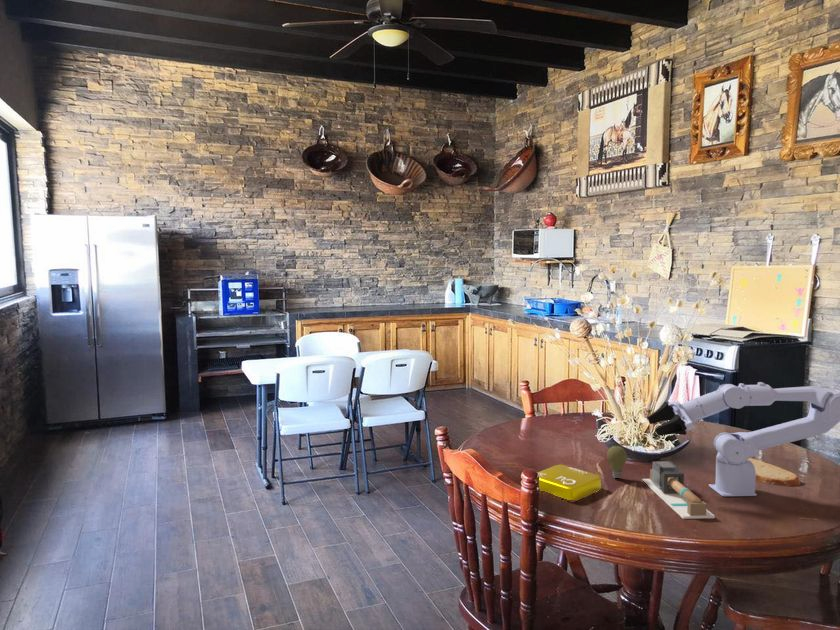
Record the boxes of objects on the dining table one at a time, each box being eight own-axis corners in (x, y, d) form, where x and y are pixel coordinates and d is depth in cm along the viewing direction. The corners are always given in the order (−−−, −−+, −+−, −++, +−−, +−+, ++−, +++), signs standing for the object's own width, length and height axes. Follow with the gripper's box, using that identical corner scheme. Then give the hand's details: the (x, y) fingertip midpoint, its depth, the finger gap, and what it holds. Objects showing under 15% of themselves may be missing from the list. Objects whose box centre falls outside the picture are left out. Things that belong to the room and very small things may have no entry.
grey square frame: (661, 491, 163) (662, 472, 162) (681, 490, 163) (681, 471, 162) (663, 493, 161) (664, 474, 161) (683, 492, 161) (683, 473, 161)
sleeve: (652, 481, 170) (652, 461, 169) (669, 481, 170) (670, 461, 169) (659, 488, 165) (659, 467, 164) (677, 488, 165) (678, 467, 164)
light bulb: (602, 476, 177) (603, 444, 176) (617, 474, 179) (618, 442, 178) (615, 483, 171) (615, 449, 171) (630, 480, 173) (631, 447, 173)
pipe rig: (642, 480, 173) (642, 464, 173) (669, 480, 173) (669, 464, 173) (683, 518, 147) (683, 499, 147) (714, 518, 147) (715, 499, 147)
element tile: (603, 490, 167) (603, 474, 167) (573, 505, 157) (573, 488, 157) (559, 476, 178) (559, 461, 178) (528, 489, 169) (528, 473, 168)
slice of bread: (804, 488, 167) (805, 475, 167) (736, 484, 171) (736, 471, 170) (780, 466, 185) (780, 455, 184) (718, 463, 188) (718, 452, 188)
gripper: (685, 386, 170) (640, 404, 173) (704, 406, 156) (655, 425, 159) (693, 407, 171) (648, 424, 174) (713, 428, 157) (664, 447, 160)
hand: (652, 426), depth 166 cm, fingers open, 7 cm apart
